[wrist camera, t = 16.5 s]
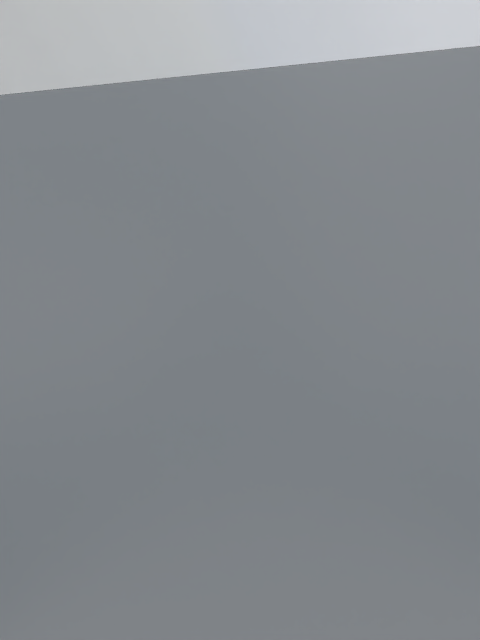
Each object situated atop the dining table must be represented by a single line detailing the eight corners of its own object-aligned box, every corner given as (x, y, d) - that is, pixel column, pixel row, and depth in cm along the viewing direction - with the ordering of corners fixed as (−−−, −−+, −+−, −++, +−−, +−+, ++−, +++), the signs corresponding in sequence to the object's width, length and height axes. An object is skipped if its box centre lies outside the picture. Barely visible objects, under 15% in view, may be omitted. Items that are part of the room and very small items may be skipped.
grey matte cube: (46, 198, 12) (-472, 143, 3) (393, 163, 12) (841, 9, 3) (107, 495, 14) (-87, 912, 6) (393, 470, 14) (636, 858, 6)
